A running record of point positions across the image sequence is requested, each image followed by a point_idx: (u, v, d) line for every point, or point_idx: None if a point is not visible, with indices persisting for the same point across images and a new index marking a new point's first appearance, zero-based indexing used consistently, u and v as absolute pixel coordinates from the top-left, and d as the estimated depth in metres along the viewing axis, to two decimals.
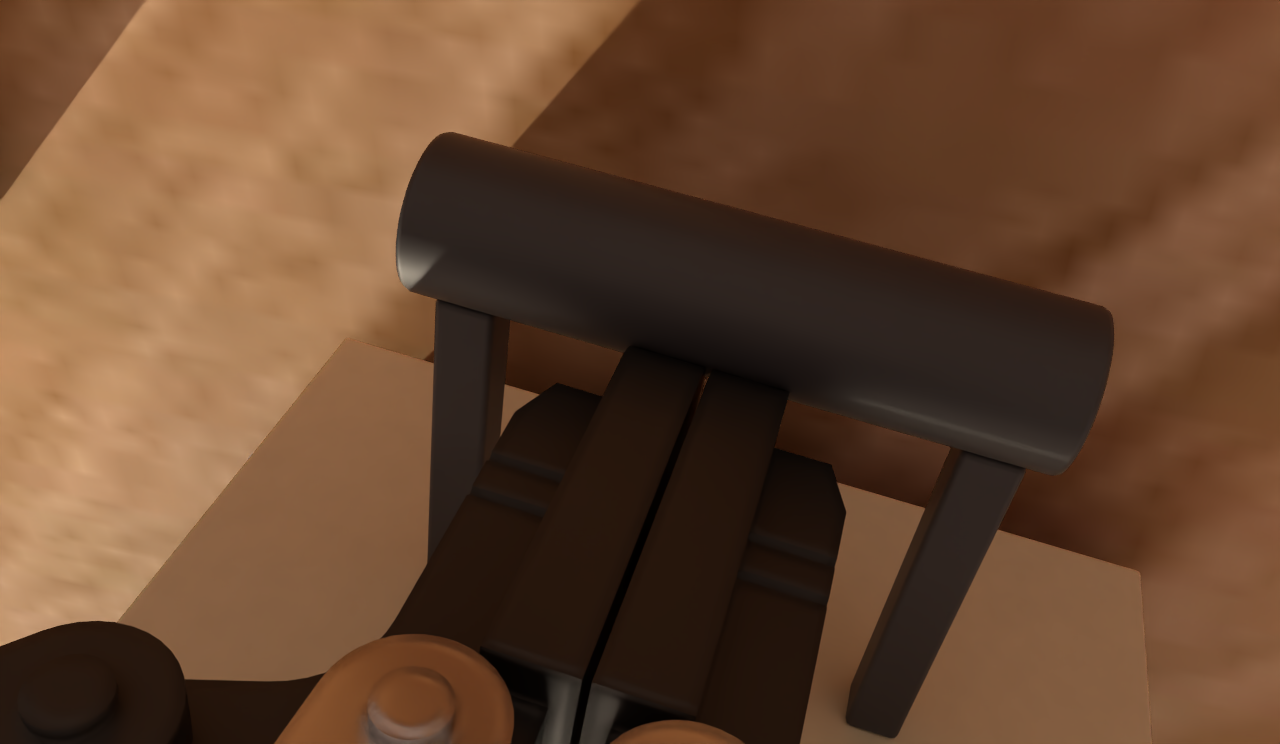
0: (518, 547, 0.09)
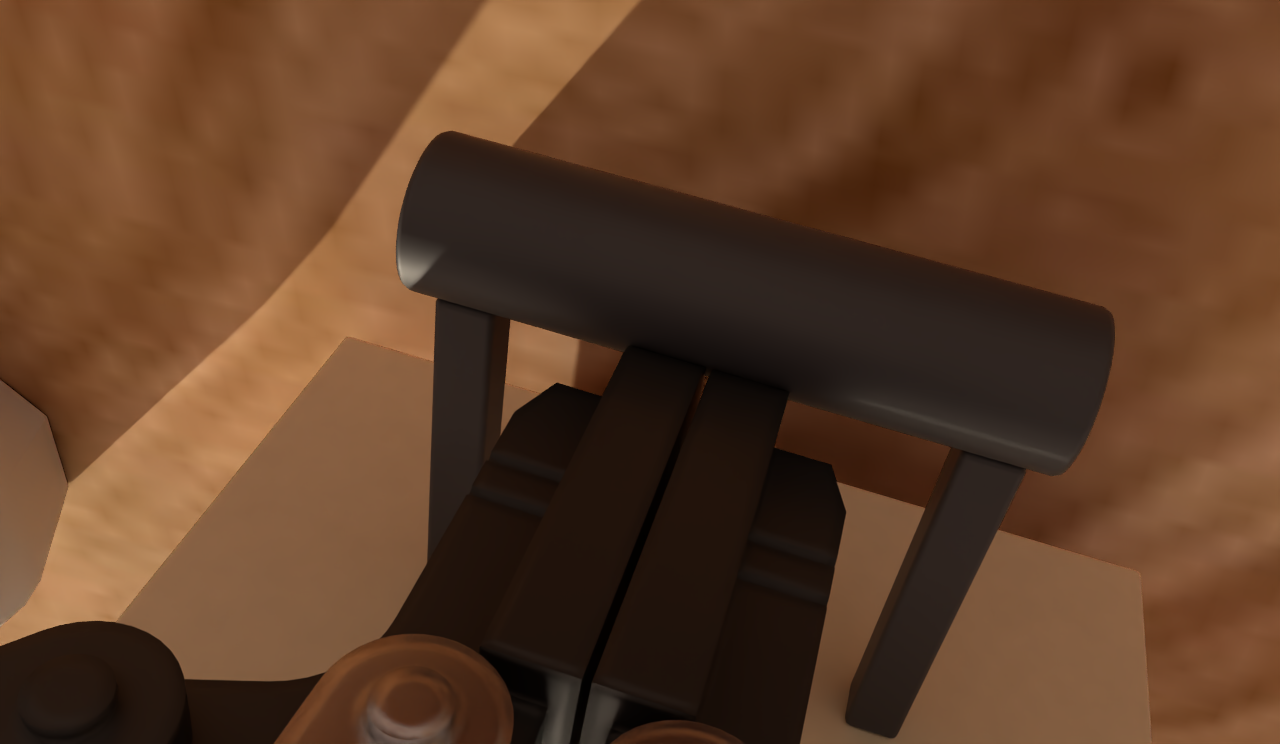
0: (520, 546, 0.09)
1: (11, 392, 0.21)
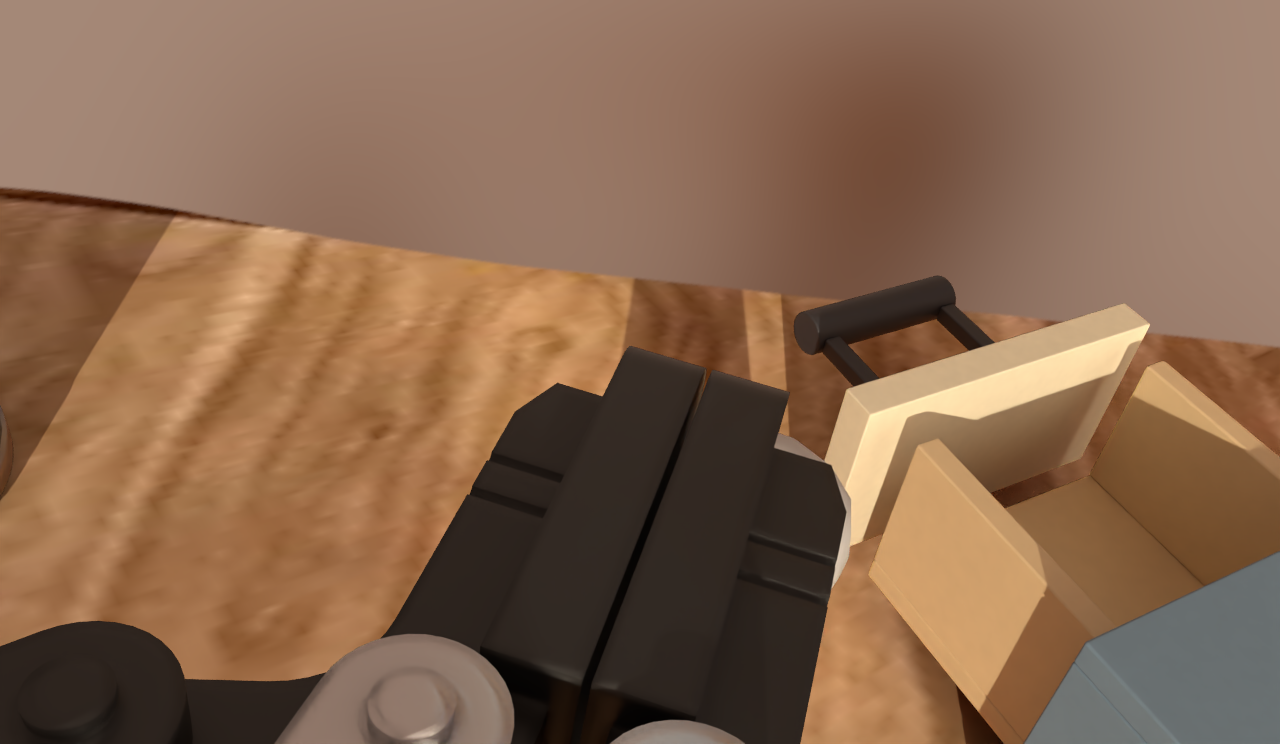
0: (520, 546, 0.09)
1: None
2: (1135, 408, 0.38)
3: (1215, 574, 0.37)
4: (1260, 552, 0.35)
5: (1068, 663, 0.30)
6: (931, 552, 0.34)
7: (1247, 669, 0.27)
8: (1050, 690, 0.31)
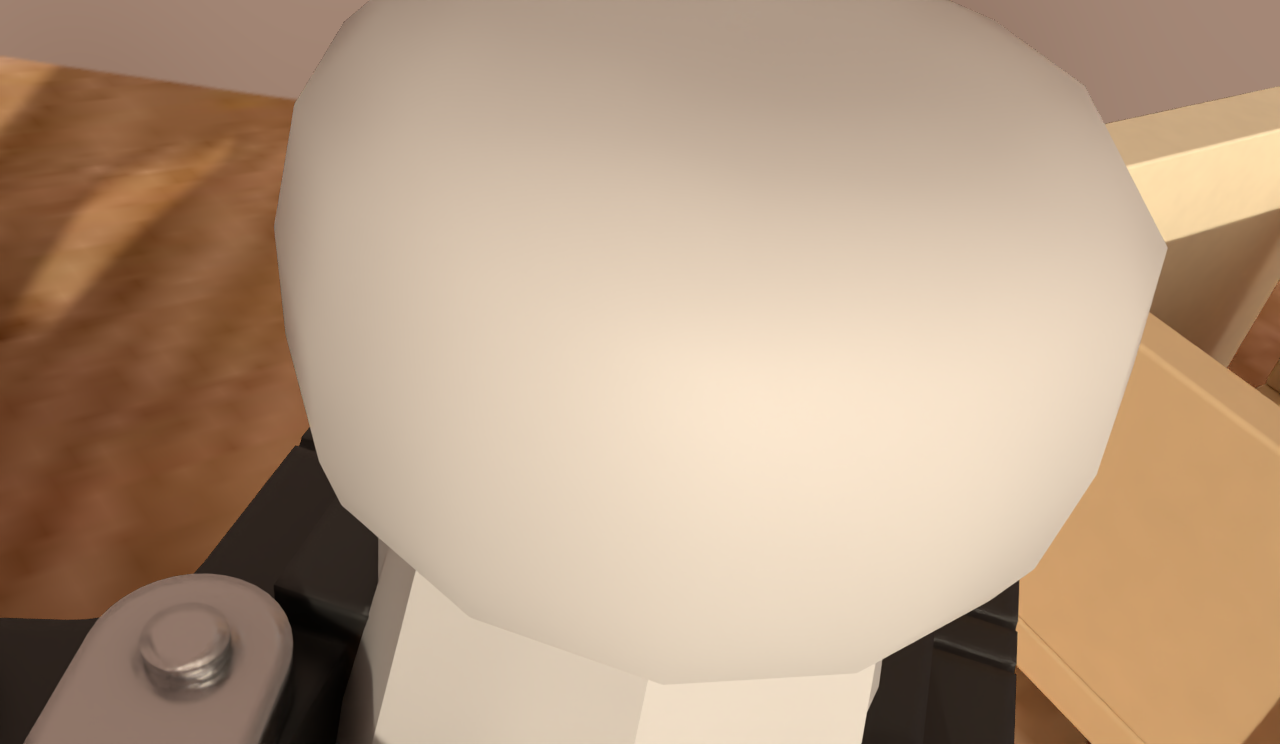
0: None
1: None
2: None
3: None
4: None
5: None
6: None
7: None
8: None
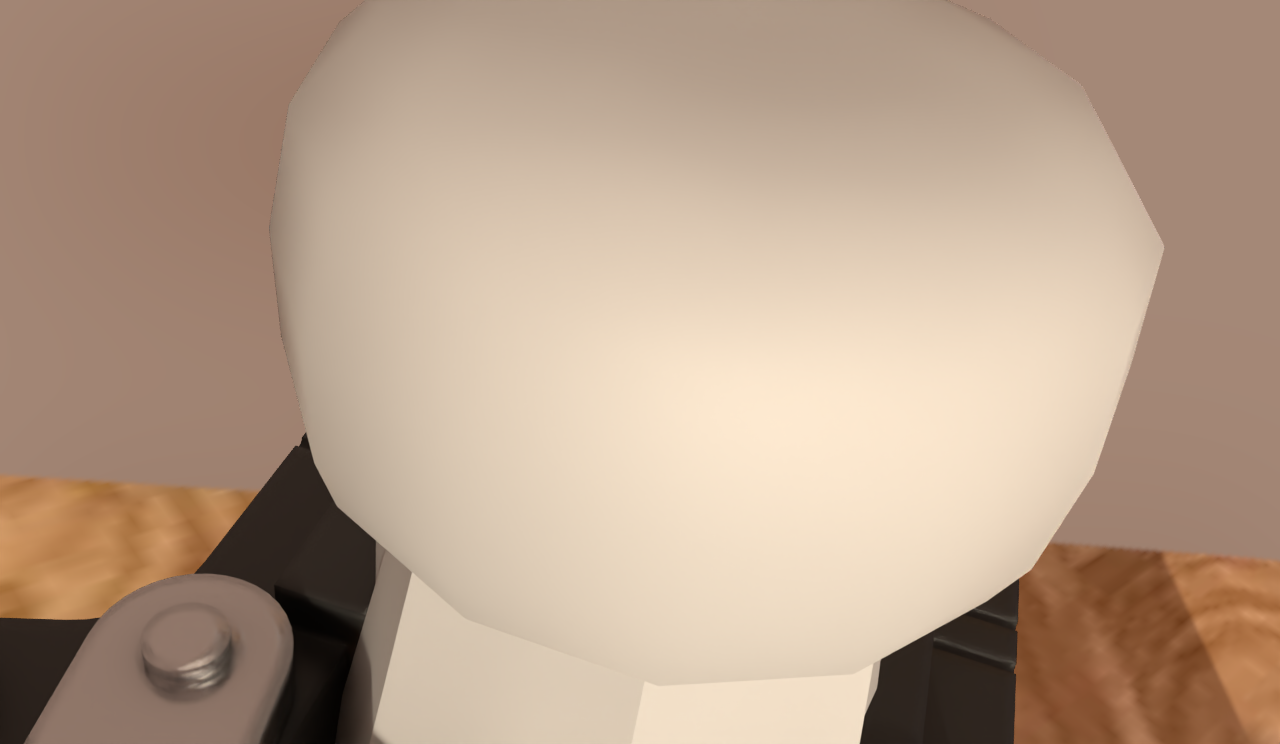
0: None
1: None
2: None
3: None
4: None
5: None
6: None
7: None
8: None
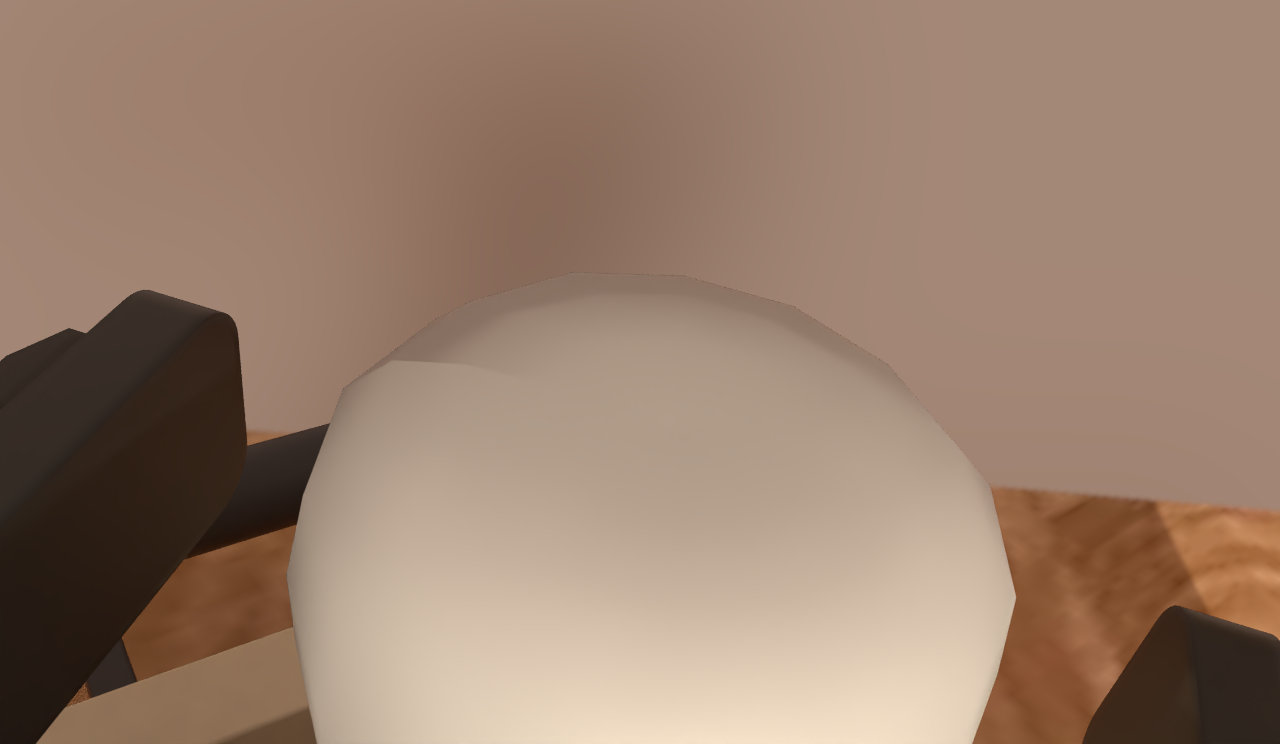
0: None
1: None
2: None
3: None
4: None
5: None
6: None
7: None
8: None
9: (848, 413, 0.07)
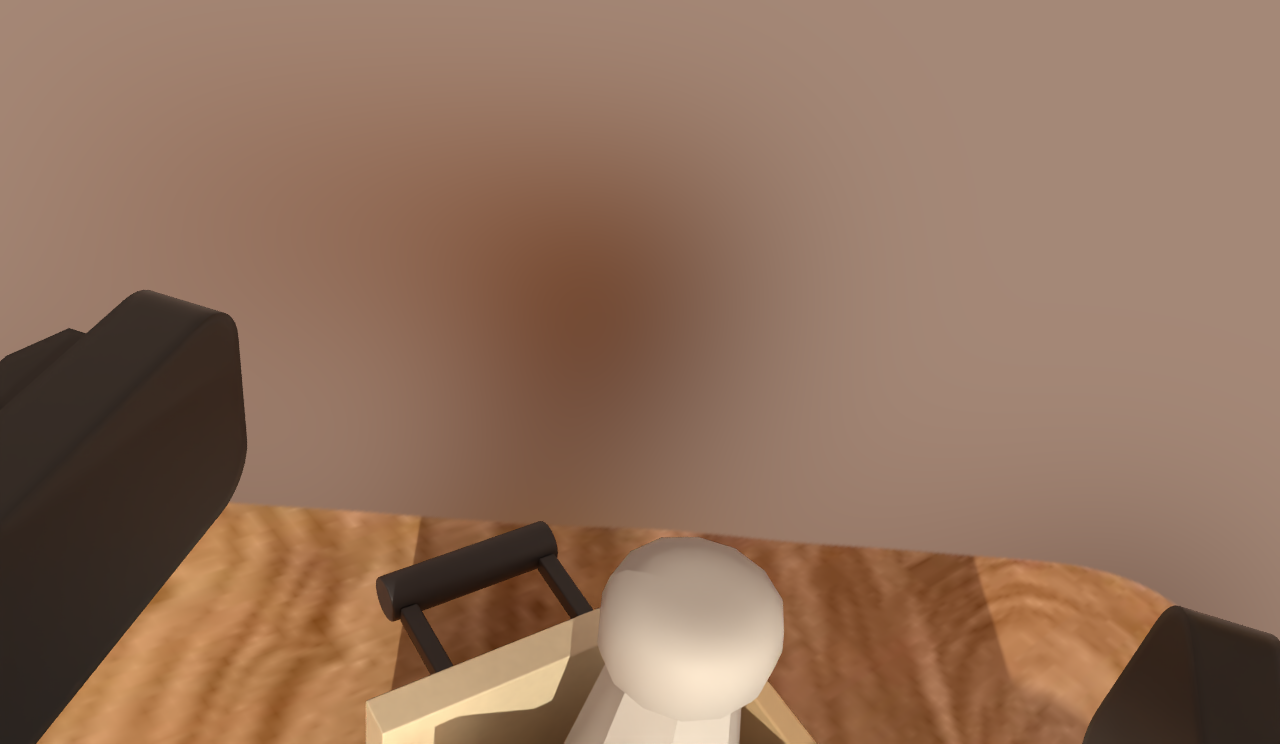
0: None
1: None
2: None
3: None
4: None
5: None
6: None
7: None
8: None
9: (742, 584, 0.27)
